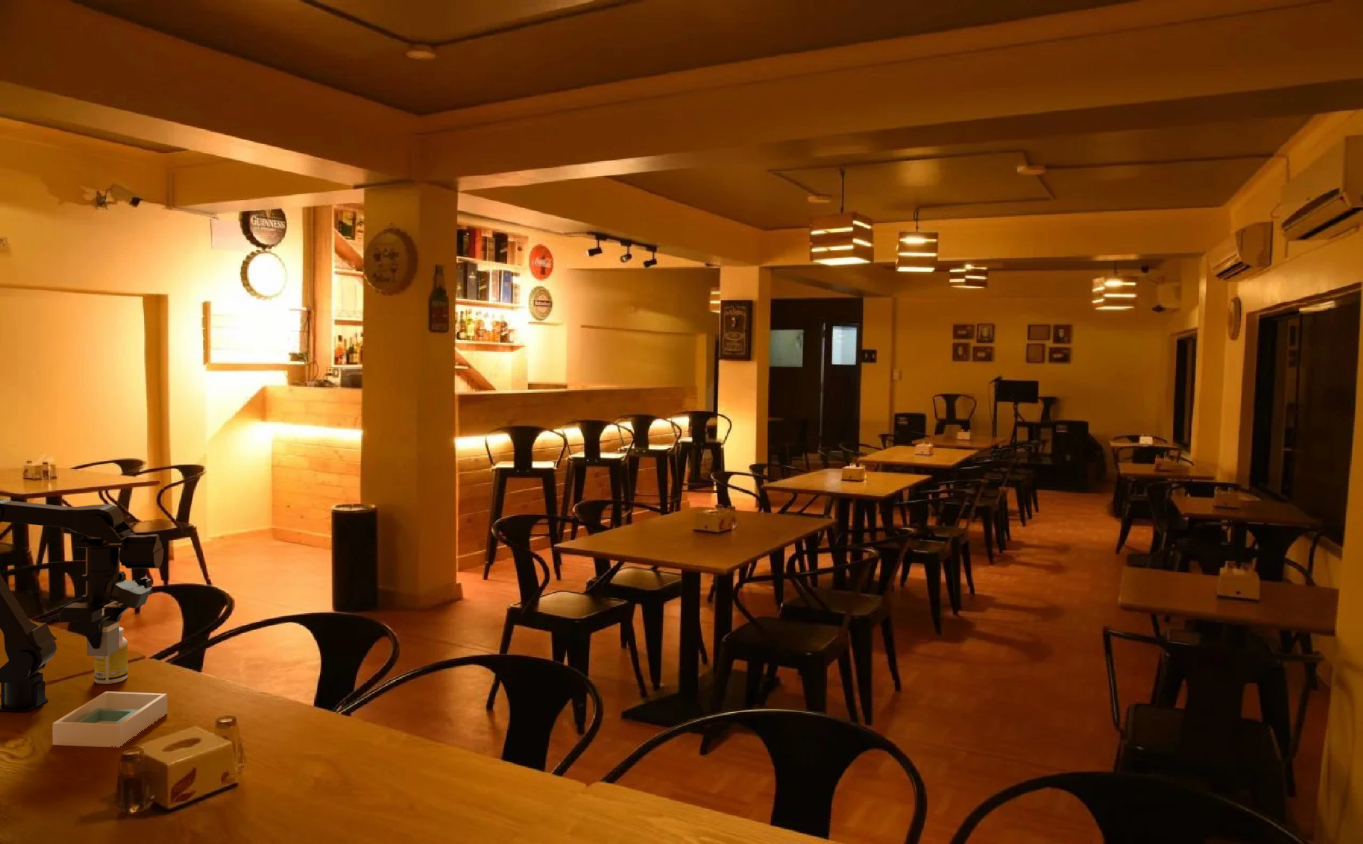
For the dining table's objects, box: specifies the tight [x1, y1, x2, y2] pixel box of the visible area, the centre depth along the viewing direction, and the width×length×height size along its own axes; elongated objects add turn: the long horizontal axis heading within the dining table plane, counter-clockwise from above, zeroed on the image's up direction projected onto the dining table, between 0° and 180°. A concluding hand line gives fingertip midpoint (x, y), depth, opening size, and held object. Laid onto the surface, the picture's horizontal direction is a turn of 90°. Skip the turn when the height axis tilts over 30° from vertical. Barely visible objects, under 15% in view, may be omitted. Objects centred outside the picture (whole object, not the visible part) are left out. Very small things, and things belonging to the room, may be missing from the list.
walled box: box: [52, 691, 168, 748], centre depth 176 cm, size 12×16×4 cm
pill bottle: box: [93, 626, 129, 685], centre depth 200 cm, size 6×6×11 cm
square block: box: [86, 620, 121, 657], centre depth 187 cm, size 4×4×6 cm
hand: (103, 645), depth 187 cm, fingers closed on square block, 4 cm apart
